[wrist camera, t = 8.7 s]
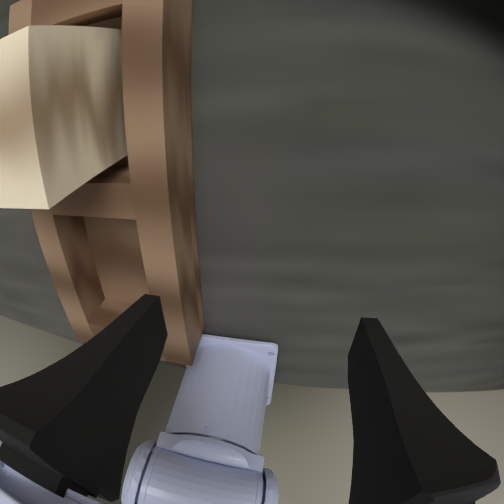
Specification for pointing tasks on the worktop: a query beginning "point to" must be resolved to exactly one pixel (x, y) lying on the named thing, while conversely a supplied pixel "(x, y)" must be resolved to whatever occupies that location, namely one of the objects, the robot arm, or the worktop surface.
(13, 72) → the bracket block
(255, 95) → the worktop surface
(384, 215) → the worktop surface
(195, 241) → the wooden compartment tray
